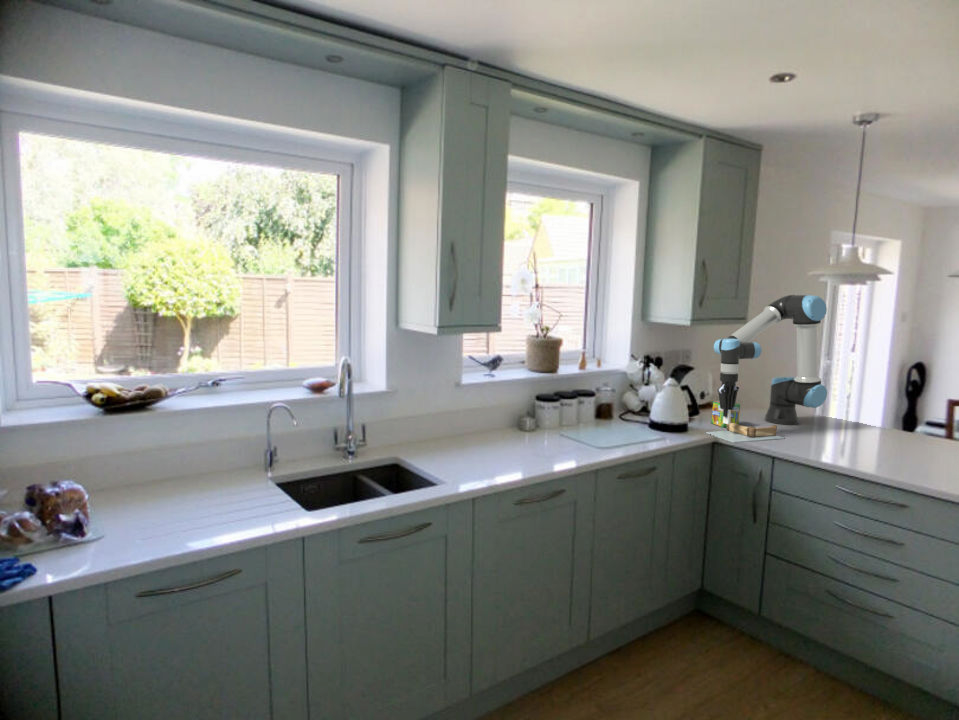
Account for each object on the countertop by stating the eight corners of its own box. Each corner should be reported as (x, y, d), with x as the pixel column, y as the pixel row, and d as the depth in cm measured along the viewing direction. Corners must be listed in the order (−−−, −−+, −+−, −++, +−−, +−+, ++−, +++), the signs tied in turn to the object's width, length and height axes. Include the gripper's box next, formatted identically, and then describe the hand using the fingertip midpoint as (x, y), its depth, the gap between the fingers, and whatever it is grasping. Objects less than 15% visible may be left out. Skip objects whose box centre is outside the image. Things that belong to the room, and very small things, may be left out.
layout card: (705, 432, 272) (705, 431, 272) (754, 429, 281) (754, 428, 280) (733, 442, 255) (733, 441, 255) (784, 438, 263) (784, 437, 263)
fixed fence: (747, 436, 264) (747, 426, 264) (773, 434, 269) (774, 424, 268) (751, 437, 262) (751, 427, 262) (777, 435, 267) (778, 426, 266)
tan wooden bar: (749, 435, 266) (750, 426, 265) (746, 435, 265) (747, 426, 264) (728, 429, 277) (729, 420, 276) (725, 429, 276) (726, 420, 275)
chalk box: (710, 423, 291) (712, 394, 289) (725, 422, 294) (727, 393, 292) (723, 428, 282) (726, 397, 281) (739, 427, 285) (741, 397, 284)
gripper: (730, 370, 272) (728, 420, 275) (712, 372, 265) (710, 423, 268) (745, 372, 266) (742, 423, 269) (727, 375, 259) (725, 426, 262)
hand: (726, 423), depth 269 cm, fingers closed
